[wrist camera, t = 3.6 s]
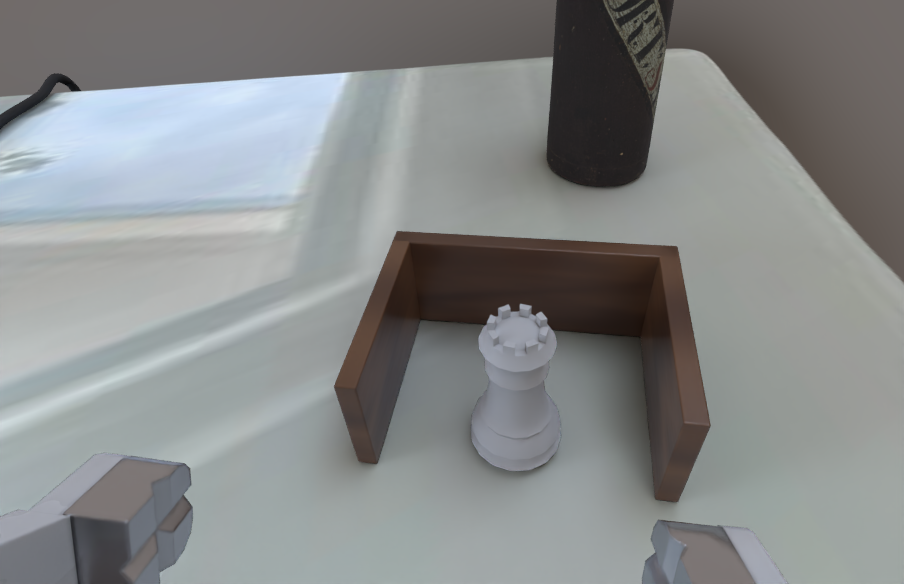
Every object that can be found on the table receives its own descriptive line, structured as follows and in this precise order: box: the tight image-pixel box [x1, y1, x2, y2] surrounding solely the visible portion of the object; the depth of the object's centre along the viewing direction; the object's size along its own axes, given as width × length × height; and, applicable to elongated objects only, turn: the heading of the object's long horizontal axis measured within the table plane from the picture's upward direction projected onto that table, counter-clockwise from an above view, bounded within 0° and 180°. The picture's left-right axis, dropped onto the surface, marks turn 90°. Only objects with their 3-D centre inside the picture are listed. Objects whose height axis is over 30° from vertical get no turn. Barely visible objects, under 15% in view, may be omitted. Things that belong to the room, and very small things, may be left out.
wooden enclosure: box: [334, 231, 711, 502], centre depth 28 cm, size 11×15×6 cm
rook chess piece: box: [471, 304, 561, 471], centre depth 26 cm, size 4×4×8 cm
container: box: [547, 0, 674, 186], centre depth 40 cm, size 9×9×20 cm
